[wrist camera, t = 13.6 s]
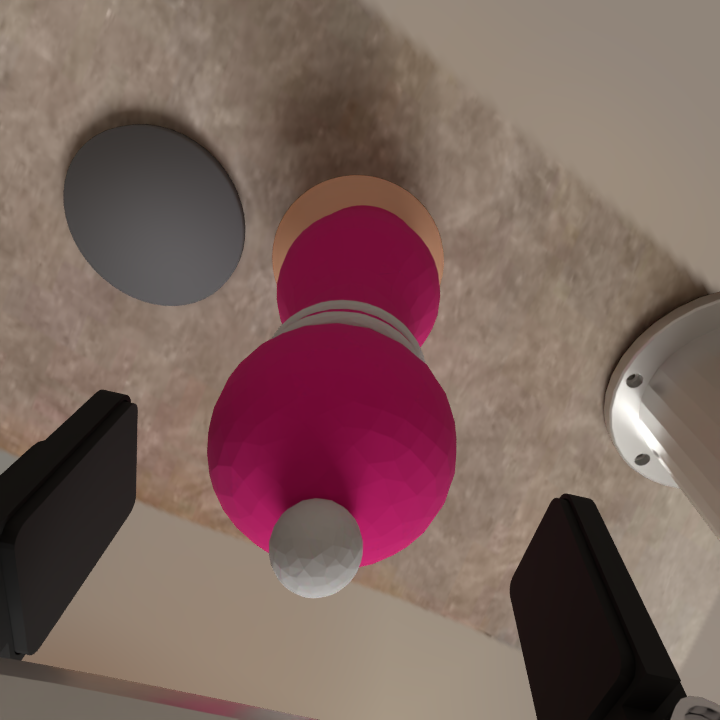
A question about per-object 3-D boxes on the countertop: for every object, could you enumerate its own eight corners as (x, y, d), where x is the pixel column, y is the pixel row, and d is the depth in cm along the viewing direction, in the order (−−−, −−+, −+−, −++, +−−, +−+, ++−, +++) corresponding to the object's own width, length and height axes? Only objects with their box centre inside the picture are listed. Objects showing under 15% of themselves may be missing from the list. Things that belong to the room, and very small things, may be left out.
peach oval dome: (464, 196, 26) (466, 198, 25) (417, 352, 30) (417, 358, 29) (288, 154, 25) (285, 156, 25) (265, 318, 29) (262, 323, 29)
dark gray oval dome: (54, 117, 24) (44, 118, 24) (241, 131, 24) (236, 133, 23) (91, 293, 29) (83, 298, 28) (249, 306, 29) (245, 312, 28)
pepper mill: (460, 276, 27) (602, 618, 9) (354, 353, 29) (297, 747, 11) (373, 162, 24) (330, 311, 7) (266, 255, 27) (18, 552, 9)
